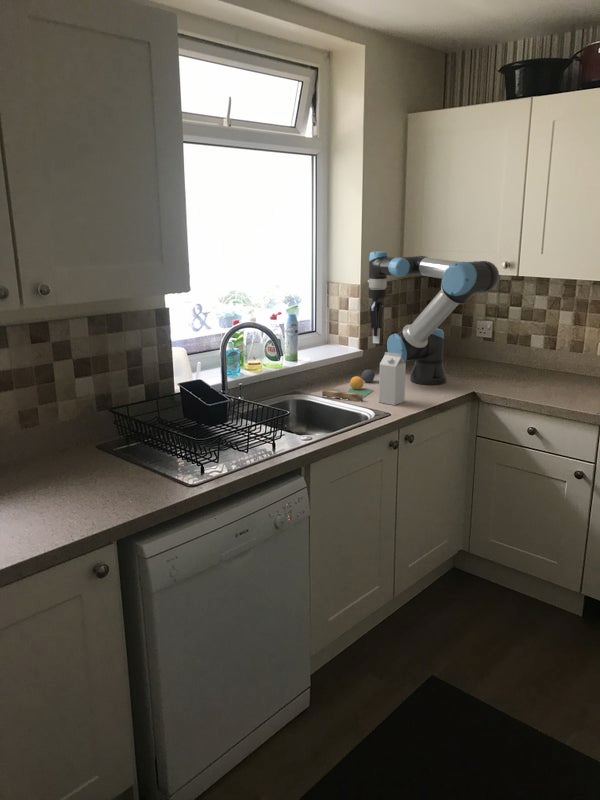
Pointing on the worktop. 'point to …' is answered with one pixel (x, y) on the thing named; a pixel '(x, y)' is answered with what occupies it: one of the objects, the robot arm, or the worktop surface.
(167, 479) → the worktop surface
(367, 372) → the dark gray ball
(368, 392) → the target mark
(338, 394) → the rail
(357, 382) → the object ball
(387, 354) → the milk carton
